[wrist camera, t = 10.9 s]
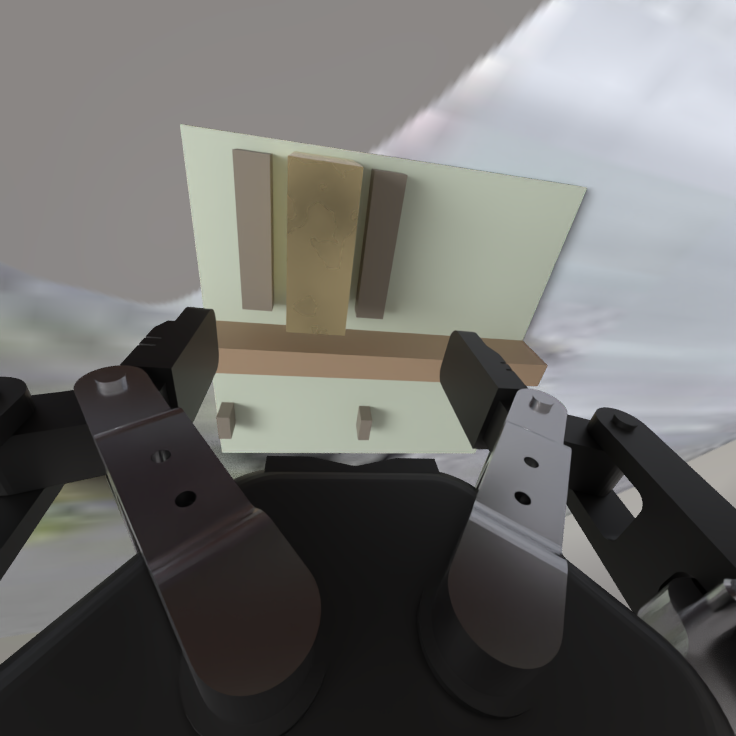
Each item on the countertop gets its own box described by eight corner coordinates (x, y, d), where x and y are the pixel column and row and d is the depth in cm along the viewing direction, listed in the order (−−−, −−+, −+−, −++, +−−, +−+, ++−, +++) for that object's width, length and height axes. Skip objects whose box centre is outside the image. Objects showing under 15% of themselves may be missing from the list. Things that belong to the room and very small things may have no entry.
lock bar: (339, 298, 26) (344, 335, 21) (292, 294, 26) (286, 332, 21) (352, 160, 21) (363, 166, 16) (294, 151, 21) (287, 155, 16)
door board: (578, 185, 25) (630, 195, 21) (471, 446, 39) (489, 483, 35) (185, 124, 20) (152, 121, 16) (224, 444, 34) (211, 487, 30)
